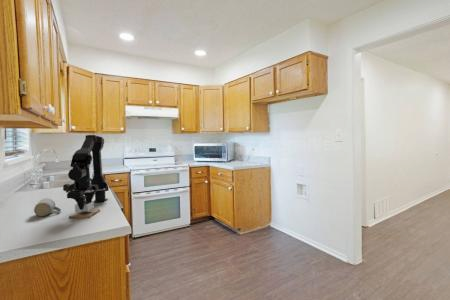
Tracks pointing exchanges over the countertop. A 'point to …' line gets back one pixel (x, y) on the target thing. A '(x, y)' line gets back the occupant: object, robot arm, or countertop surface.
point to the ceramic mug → (46, 207)
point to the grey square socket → (85, 207)
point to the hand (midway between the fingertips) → (84, 207)
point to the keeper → (84, 213)
